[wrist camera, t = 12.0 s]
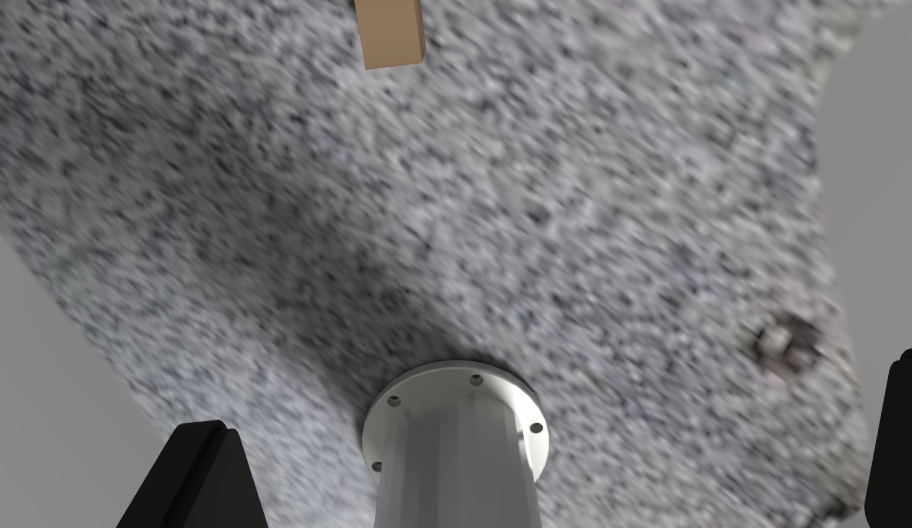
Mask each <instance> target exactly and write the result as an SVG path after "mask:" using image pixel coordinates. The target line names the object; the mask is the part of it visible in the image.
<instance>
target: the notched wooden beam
mask: <svg viewBox="0 0 912 528" xmlns="http://www.w3.org/2000/svg"><path fill="white" fill-rule="evenodd" d="M354 2H355V8H356V14H357V20H358V26H359V32H360V38H361V44H362V50H363V56H364V62H365V68H366V70H369V69H377V68H385V67H393V66H401V65H410V64H418V63H422V61H423V58H424V54H425V51H426V44H425V36H424V28H423V20H422V13H421V5H420V0H354Z"/></svg>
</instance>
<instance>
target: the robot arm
mask: <svg viewBox="0 0 912 528" xmlns="http://www.w3.org/2000/svg"><path fill="white" fill-rule="evenodd" d="M474 374H478V375H474ZM549 452H550V431H549V426H548V421H547V418H546V415H545V412H544V409H543V407H542V405H541V403H540V402H539V400H538V399H537V397H536V396H535V394H534V393H533V392H532V391H531V390H530V389H529V388H528V387H527V386H526V385H525V384H524V383H523V382H522V381H520V380H519V379H517V378H516V377H514V376H513V375H511V374H510V373H508V372H506V371H504V370H502V369H499V368H497V367H495V366H492V365H488V364H484V363H480V362H476V361H465V360H449V361H438V362H433V363H430V364H426V365H422V366H419V367H416V368H414V369H412V370H410V371H408V372H405V373H403V374H402V375H400V376H399V377H397V378H396V379H394V380H393V381H392V382H390V383H389V384H388V385H387V386H386V387H385V388H384V389H383V390H382V391H381V392H380V393H379V394H378V395H377V397H376V398H375V400H374V402H373V403H372V405H371V406H370V408H369V411H368V413H367V416H366V419H365V422H364V428H363V434H362V453H363V456H364V460H365V464H366V467H367V469H368V470H369V472H370V474H371V476H372V478H373V479H374V481H375V482H376V483H377V484H378V485H379V492H378V500H377V507H376V515H375V522H374V528H542V523H541V517H540V511H539V505H538V499H537V493H536V488H535V482H536V481H537V480H538V478H539V477H540V476H541V474H542V472H543V470H544V468H545V466H546V464H547V460H548V456H549ZM864 509H865V516H866V519H867V522H868V524H869V526H870V528H912V348H911V349H908V350H906V351H905V352H904V353H903V354H902V355H901V358H900V360H898V361H895V362H893V364H892V365H891V367H890V370H889V375H888V380H887V386H886V391H885V396H884V402H883V407H882V413H881V418H880V423H879V429H878V434H877V439H876V445H875V450H874V455H873V461H872V466H871V471H870V477H869V482H868V488H867V493H866V498H865V506H864ZM116 528H268V525H267V522H266V518H265V515H264V512H263V509H262V506H261V503H260V499H259V496H258V493H257V490H256V487H255V483H254V480H253V477H252V474H251V471H250V468H249V464H248V461H247V458H246V455H245V452H244V448H243V445H242V442H241V439H240V436H239V434H238V432H237V431H236V429H233V428H232V429H227V427H226V425H225V424H224V423H223V422H222V421H221V420H211V421H202V422H192V423H182V424H180V425H178V426H177V427H176V429H175V430H174V431H173V433H172V435H171V436H170V438H169V440H168V441H167V443H166V445H165V446H164V448H163V450H162V451H161V453H160V455H159V456H158V458H157V460H156V462H155V463H154V465H153V467H152V468H151V470H150V471H149V473H148V475H147V477H146V478H145V480H144V482H143V483H142V485H141V487H140V488H139V490H138V492H137V493H136V495H135V497H134V498H133V500H132V502H131V503H130V505H129V507H128V508H127V510H126V512H125V513H124V515H123V517H122V518H121V520H120V522H119V523H118V525H117V527H116Z"/></svg>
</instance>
